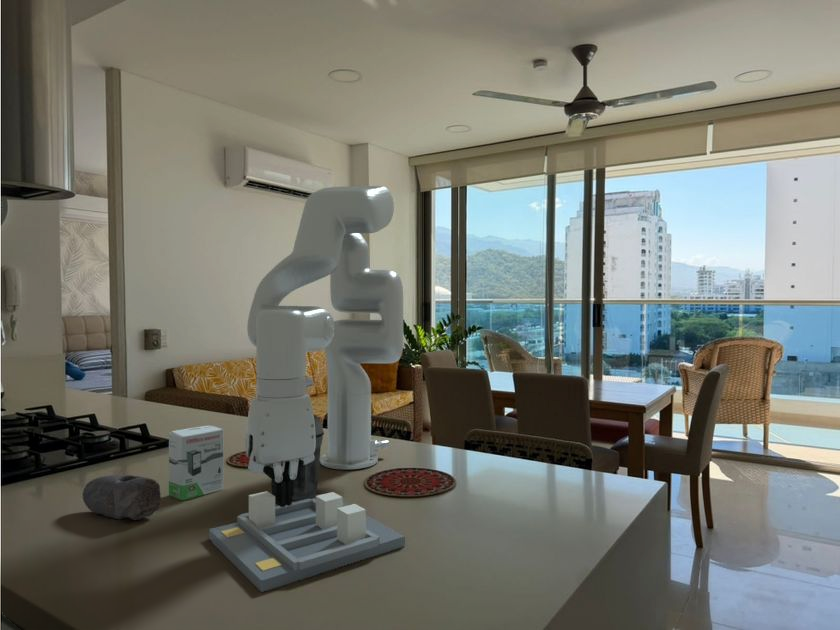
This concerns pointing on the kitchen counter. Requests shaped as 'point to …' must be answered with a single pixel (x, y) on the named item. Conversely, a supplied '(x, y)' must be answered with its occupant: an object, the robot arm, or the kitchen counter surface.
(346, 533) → the tab
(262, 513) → the tab
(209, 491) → the ink box
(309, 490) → the beverage cup
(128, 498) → the perforated stone tool
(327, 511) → the tab
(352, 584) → the kitchen counter surface
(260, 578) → the switch board
